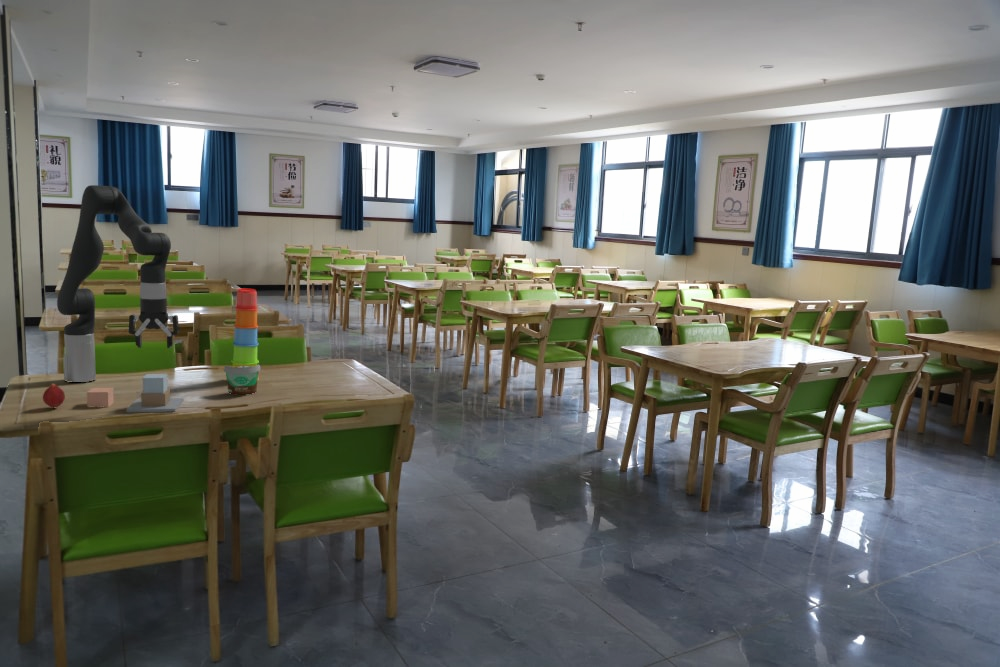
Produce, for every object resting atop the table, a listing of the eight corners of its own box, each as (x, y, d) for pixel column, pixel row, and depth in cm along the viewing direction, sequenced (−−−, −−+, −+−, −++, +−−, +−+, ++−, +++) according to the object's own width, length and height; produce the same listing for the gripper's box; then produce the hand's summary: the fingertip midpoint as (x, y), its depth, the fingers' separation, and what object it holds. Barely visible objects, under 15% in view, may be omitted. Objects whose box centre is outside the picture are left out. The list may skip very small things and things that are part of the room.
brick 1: (87, 407, 231) (86, 392, 230) (93, 403, 237) (92, 387, 236) (108, 407, 232) (107, 392, 232) (113, 402, 238) (113, 387, 237)
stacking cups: (258, 376, 284) (258, 287, 278) (259, 382, 274) (258, 290, 269) (230, 377, 280) (229, 287, 275) (229, 383, 271) (228, 290, 266)
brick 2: (143, 393, 231) (142, 378, 230) (147, 389, 237) (146, 373, 236) (163, 393, 233) (163, 377, 232) (167, 388, 238) (167, 373, 238)
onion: (49, 405, 230) (48, 381, 229) (68, 406, 231) (67, 381, 230) (39, 410, 225) (38, 385, 224) (59, 411, 225) (58, 385, 224)
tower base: (126, 412, 227) (126, 396, 226) (137, 401, 241) (137, 386, 240) (175, 411, 230) (174, 396, 230) (183, 400, 244) (183, 386, 243)
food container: (226, 397, 251) (225, 368, 249) (223, 393, 256) (223, 365, 255) (263, 394, 257) (263, 366, 255) (260, 390, 262) (260, 363, 261)
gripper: (125, 297, 225) (126, 349, 227) (175, 298, 228) (176, 350, 231) (131, 294, 232) (133, 345, 234) (180, 295, 235) (181, 345, 238)
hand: (154, 347), depth 233 cm, fingers open, 8 cm apart
